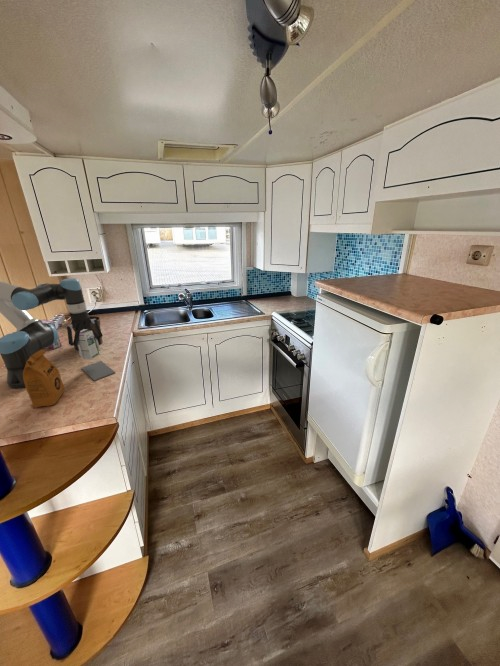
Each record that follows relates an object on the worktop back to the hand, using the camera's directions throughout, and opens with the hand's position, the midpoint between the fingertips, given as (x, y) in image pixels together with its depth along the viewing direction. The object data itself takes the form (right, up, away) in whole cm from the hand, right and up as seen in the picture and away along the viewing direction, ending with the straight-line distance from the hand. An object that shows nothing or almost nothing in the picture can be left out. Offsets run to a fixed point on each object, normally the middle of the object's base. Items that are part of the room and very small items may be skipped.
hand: (90, 353), depth 138 cm
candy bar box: (-40, +2, +29) cm, 49 cm away
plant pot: (-17, +3, +30) cm, 35 cm away
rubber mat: (+4, -9, -1) cm, 10 cm away
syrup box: (0, -2, +1) cm, 2 cm away
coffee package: (-4, -19, -22) cm, 29 cm away
